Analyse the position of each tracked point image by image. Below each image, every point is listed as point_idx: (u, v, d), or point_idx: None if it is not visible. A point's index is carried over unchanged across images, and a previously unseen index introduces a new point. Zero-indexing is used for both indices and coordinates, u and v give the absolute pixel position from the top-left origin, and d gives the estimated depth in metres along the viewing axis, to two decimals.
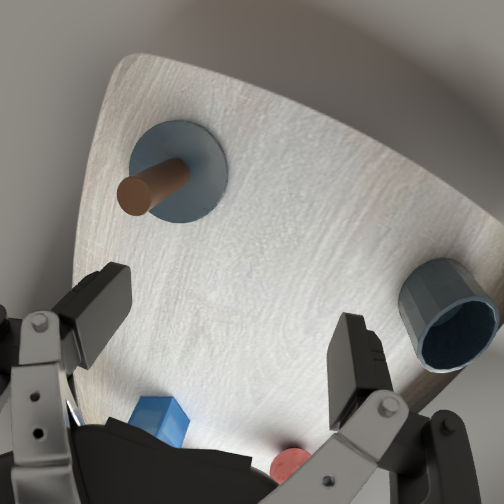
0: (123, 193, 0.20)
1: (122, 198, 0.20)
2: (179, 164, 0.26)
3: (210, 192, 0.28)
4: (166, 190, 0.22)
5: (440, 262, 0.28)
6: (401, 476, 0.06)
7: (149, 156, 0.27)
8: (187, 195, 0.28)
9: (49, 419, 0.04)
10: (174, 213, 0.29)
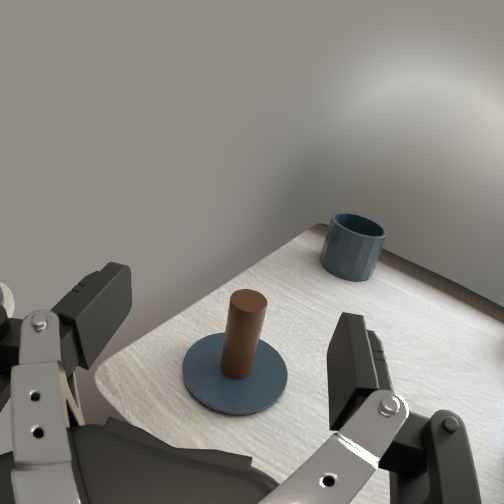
0: (243, 305, 0.23)
1: (247, 307, 0.23)
2: None
3: (261, 349, 0.30)
4: None
5: (322, 257, 0.49)
6: (401, 476, 0.06)
7: (210, 382, 0.25)
8: (260, 365, 0.28)
9: (49, 419, 0.04)
10: (275, 381, 0.27)
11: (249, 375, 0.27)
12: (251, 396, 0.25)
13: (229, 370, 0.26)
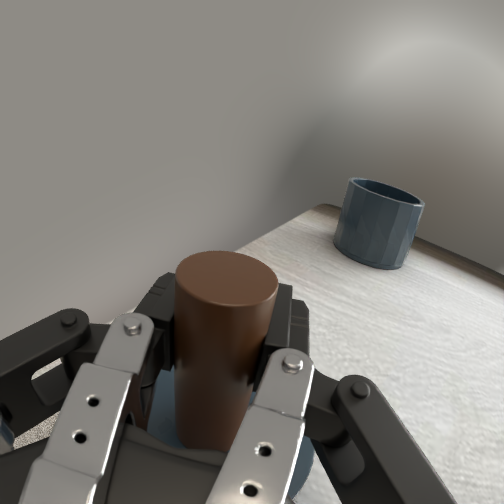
0: (210, 287, 0.08)
1: (223, 292, 0.08)
2: None
3: None
4: None
5: (337, 238, 0.35)
6: (328, 449, 0.07)
7: None
8: None
9: (98, 429, 0.05)
10: None
11: None
12: None
13: (191, 440, 0.10)
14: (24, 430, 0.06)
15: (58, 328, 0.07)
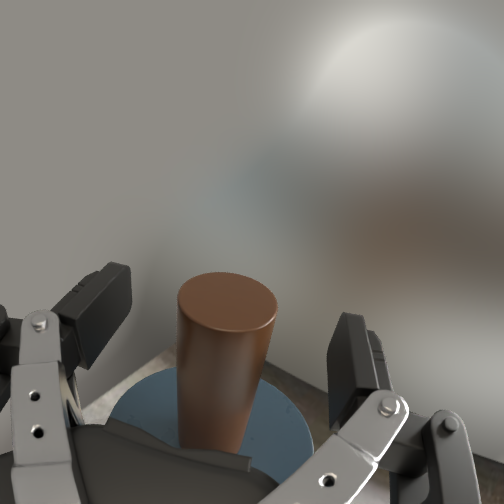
0: (212, 312, 0.08)
1: (224, 318, 0.08)
2: None
3: (259, 395, 0.15)
4: None
5: None
6: (401, 476, 0.06)
7: None
8: (259, 430, 0.13)
9: (49, 419, 0.04)
10: (291, 462, 0.12)
11: (239, 454, 0.12)
12: None
13: None
14: None
15: None
